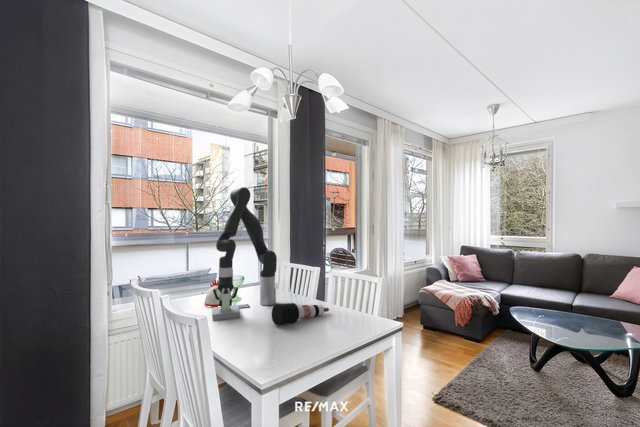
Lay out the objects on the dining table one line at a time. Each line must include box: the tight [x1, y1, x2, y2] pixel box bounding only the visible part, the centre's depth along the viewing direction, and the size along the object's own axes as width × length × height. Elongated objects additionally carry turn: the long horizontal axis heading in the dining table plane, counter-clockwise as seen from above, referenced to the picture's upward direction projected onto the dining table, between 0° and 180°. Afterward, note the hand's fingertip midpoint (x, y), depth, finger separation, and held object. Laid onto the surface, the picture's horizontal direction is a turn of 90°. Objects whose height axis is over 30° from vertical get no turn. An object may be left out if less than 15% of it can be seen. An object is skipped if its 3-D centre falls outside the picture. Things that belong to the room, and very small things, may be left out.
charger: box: [222, 292, 231, 311], centre depth 173 cm, size 4×4×10 cm
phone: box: [237, 303, 251, 310], centre depth 188 cm, size 7×13×1 cm, turn 115°
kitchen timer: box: [204, 279, 221, 308], centre depth 195 cm, size 14×14×15 cm
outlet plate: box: [211, 304, 241, 321], centre depth 173 cm, size 14×14×3 cm
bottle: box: [271, 302, 330, 326], centre depth 166 cm, size 10×34×10 cm, turn 129°
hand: (225, 306), depth 173 cm, fingers closed on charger, 4 cm apart
